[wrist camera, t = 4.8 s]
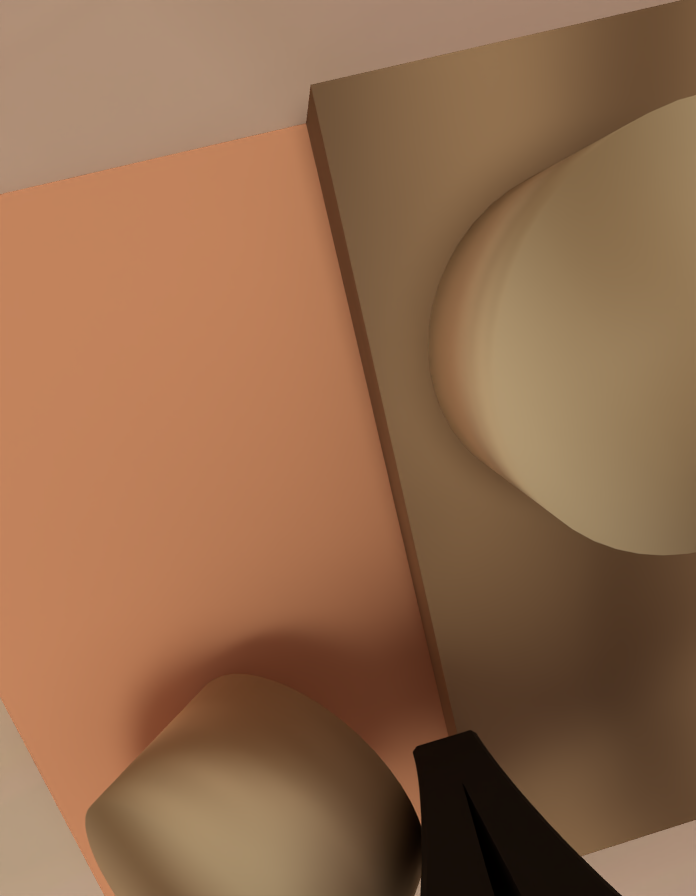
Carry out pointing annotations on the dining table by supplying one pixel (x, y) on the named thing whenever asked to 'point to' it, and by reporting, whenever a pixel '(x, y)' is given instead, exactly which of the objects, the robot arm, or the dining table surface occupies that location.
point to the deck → (470, 480)
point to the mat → (191, 467)
